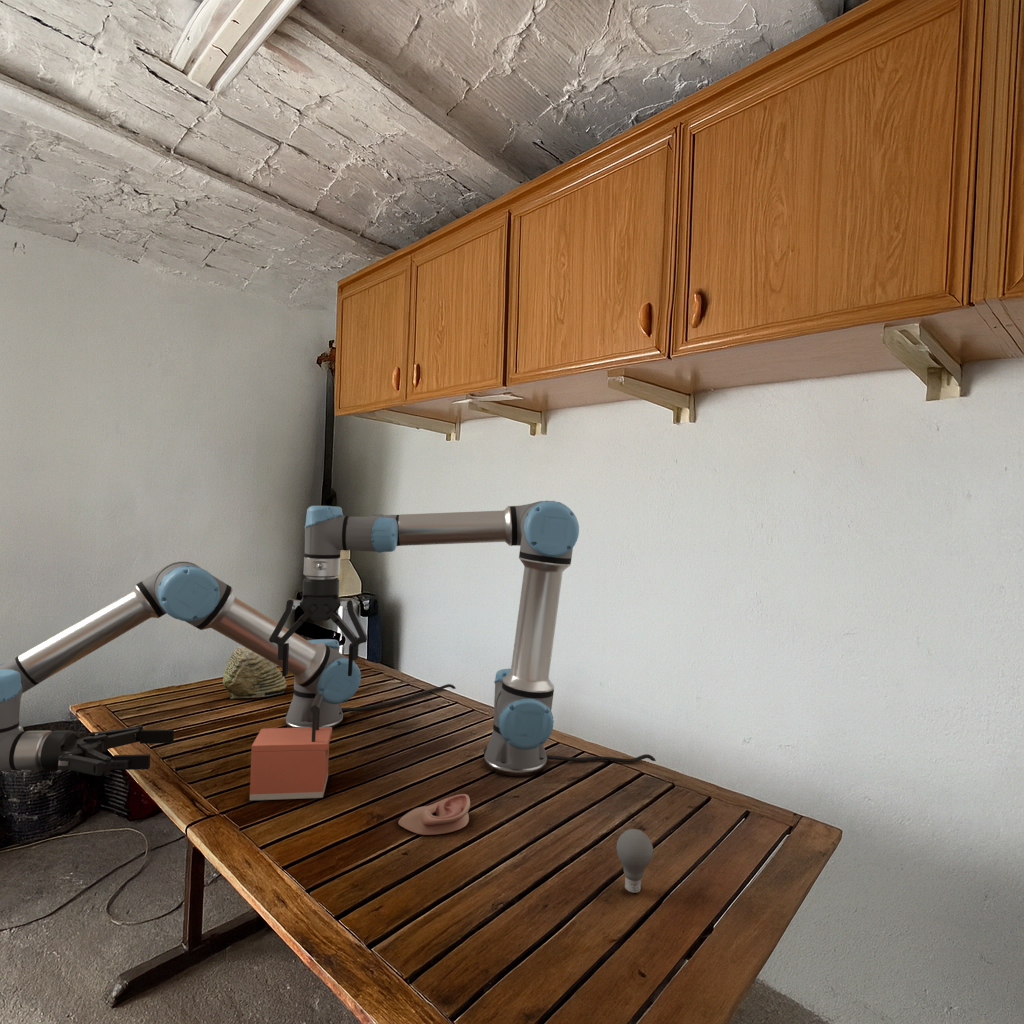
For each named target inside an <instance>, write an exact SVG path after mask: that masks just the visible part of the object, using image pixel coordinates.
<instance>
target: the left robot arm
mask: <svg viewBox="0 0 1024 1024" xmlns="http://www.w3.org/2000/svg"><path fill="white" fill-rule="evenodd" d="M165 615H168V616H170V617H171V618H173V619H175V620H179V621H182V622H185V623H187V624H189V625H190V626H192V627H194V628H196V629H198V630H200V631H204V630H208V629H212V630H214V631H215V632H218V633H219V634H221V635H223V636H225V637H226V638H228V639H230V640H232V641H233V642H235V643H237V644H238V645H240V646H241V647H246V648H248V649H249V650H251V651H253V652H255V653H256V654H258V655H260V656H262V657H264V658H265V659H267V660H269V661H271V662H272V663H274V664H275V665H276V666H278V667H279V668H281V669H282V666H283V660H278V645H277V644H276V643H271V642H270V641H269V638H270V637H271V635H272V633H273V631H274V629H275V628H276V626H277V624H278V622H277V621H276V620H274V619H272V618H271V617H269V616H267V615H266V614H264V613H262V612H261V611H259V610H257V609H256V608H254V607H252V606H250V605H249V604H247V603H245V602H244V601H242V600H241V599H239V598H237V597H236V596H235V595H234V589H233V587H232V586H230V585H229V584H227V583H226V582H224V581H223V580H221V579H220V578H218V577H216V576H214V575H213V574H212V573H210V572H209V571H208V570H206V569H204V568H202V567H200V566H199V565H197V564H196V563H193V562H190V561H175V562H172V563H169V564H167V565H165V566H163V567H162V568H160V569H159V570H157V571H155V572H154V573H152V574H151V575H149V576H148V577H146V578H145V579H143V580H141V581H140V582H138V583H136V584H134V586H133V590H132V591H131V592H129V593H127V594H125V595H123V596H121V597H119V598H118V599H116V600H114V601H113V602H111V603H109V604H108V605H107V604H106V606H104V607H102V608H100V609H98V610H97V611H95V612H93V613H91V614H90V615H88V616H86V617H84V618H82V619H81V620H79V621H77V622H75V623H74V624H71V625H70V626H68V627H66V628H65V629H63V630H61V631H59V632H58V633H56V634H54V635H52V636H50V637H49V638H47V639H45V640H43V641H42V642H40V643H38V644H36V645H35V646H33V647H31V648H28V649H27V650H25V651H24V652H22V653H20V654H19V655H17V656H15V657H14V658H11V659H9V660H8V661H6V662H0V772H14V771H15V772H19V771H28V773H34V772H35V771H43V770H45V771H72V772H77V773H81V774H86V775H90V776H96V777H100V776H103V777H106V776H107V777H108V776H110V775H111V774H112V771H134V770H135V771H136V770H137V771H139V770H149V769H150V767H151V754H150V753H145V754H143V753H142V754H114V755H113V756H112V757H111V756H109V755H106V754H104V753H106V752H107V751H108V750H111V749H115V748H119V747H123V746H126V745H131V744H136V743H139V744H140V745H141V744H142V745H143V744H173V743H174V740H175V738H174V737H175V729H144V725H142V724H141V725H138V726H131V727H125V728H124V727H123V728H117V729H110V730H103V731H91V732H89V733H88V734H89V735H88V736H85V737H82V738H79V737H78V735H77V733H76V731H74V730H53V731H52V730H50V729H49V730H20V729H19V728H20V713H21V700H22V695H23V694H24V693H26V692H27V691H29V690H31V689H33V688H34V687H36V686H37V685H39V684H41V683H43V682H44V681H46V680H47V679H48V678H49V679H50V677H52V676H54V675H56V674H57V673H59V672H61V671H62V670H64V669H66V668H68V667H69V666H71V665H73V664H75V663H77V662H78V661H80V660H81V659H83V658H85V657H86V656H88V655H90V654H91V653H93V652H95V651H96V650H99V649H100V648H102V647H103V646H105V645H107V644H108V643H110V642H112V641H113V640H115V639H117V638H119V637H120V636H123V635H125V633H127V632H129V631H131V630H133V629H134V628H136V627H138V626H140V625H141V624H143V623H144V622H146V621H148V620H149V619H160V618H161V617H163V616H165ZM289 629H290V628H287V627H286V626H284V627H283V628H282V630H281V632H280V634H279V635H278V637H281V638H282V636H283V635H284V634H285V633H286V632H287V631H288V630H289ZM285 643H289V658H288V673H290V674H292V675H293V695H292V696H293V697H292V699H291V702H290V704H289V708H288V711H286V712H285V726H286V728H312V719H313V713H312V712H311V711H310V708H311V706H312V703H313V701H314V698H315V696H316V695H317V694H321V695H322V696H323V699H322V702H321V705H320V722H319V727H332V730H333V729H335V728H337V727H339V726H340V725H342V723H343V722H344V714H343V712H362V711H369V710H373V709H377V708H382V707H386V706H390V705H395V704H398V703H402V702H406V701H409V700H412V699H415V698H418V697H421V696H424V695H427V694H430V693H434V692H438V691H442V690H444V689H447V688H451V689H452V690H456V689H457V688H456V686H455V685H454V684H451V683H447V684H444V685H441V686H438V687H433V688H430V689H426V690H423V691H421V692H418V693H415V694H412V695H409V696H406V697H401V698H398V699H394V700H390V701H386V702H381V703H376V704H373V705H367V706H361V707H360V706H359V707H342V706H341V704H342V703H345V702H347V701H349V700H350V699H351V698H353V696H354V695H356V693H357V691H358V690H359V688H360V685H361V680H362V672H361V670H360V668H359V666H358V664H357V663H356V662H355V660H353V668H352V676H348V661H349V657H347V656H346V655H344V654H343V653H341V652H340V648H341V647H340V643H339V641H338V640H337V639H332V638H323V639H322V638H320V639H305V638H304V637H302V636H301V635H299V634H297V633H296V632H294V633H293V634H292V635H291V637H290V638H289V639H288V640H287V641H286V642H285Z"/></svg>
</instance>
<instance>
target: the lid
mask: <svg viewBox="0 0 1024 1024" xmlns="http://www.w3.org/2000/svg"><path fill="white" fill-rule="evenodd" d="M322 699H323V696H322V695H321V694H317V695H316V696H315V698H314V701H313V703H312V706H311V708H310V711H311V712H312V713H313V719H312V728H288V727H270V728H269V727H267V728H261V729H260V730H259V733H258V734H257V735H256V738H255V739H254V741H253V743H252V745H251V752H257V751H297V750H327V749H328V745H329V746H330V742H331V738H332V734H333V729H332V727H319V722H320V705H321V702H322Z"/></svg>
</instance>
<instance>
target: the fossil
mask: <svg viewBox="0 0 1024 1024" xmlns="http://www.w3.org/2000/svg"><path fill="white" fill-rule="evenodd" d="M222 676H223V677H222V685H223V687H224V688H225V690H226V691H228V693H229V698H230V699H250V698H264V697H271V696H275V695H281V694H284V693H285V691H286V689H287V687H288V686H287V680H286V677H282V672H281V669H279V668H278V667H277V665H276V664H274V663H272V662H271V661H269V660H267V659H265V658H264V657H262V656H260V655H258V654H256V653H255V652H253V651H251V650H249V649H248V648H246V647H244V646H238V647H237V648H236V649H235V650H233V651H232V653H231V656H230V657H229V659H228V660H227V663H226V666H225V668H224V671H223V675H222Z"/></svg>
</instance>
